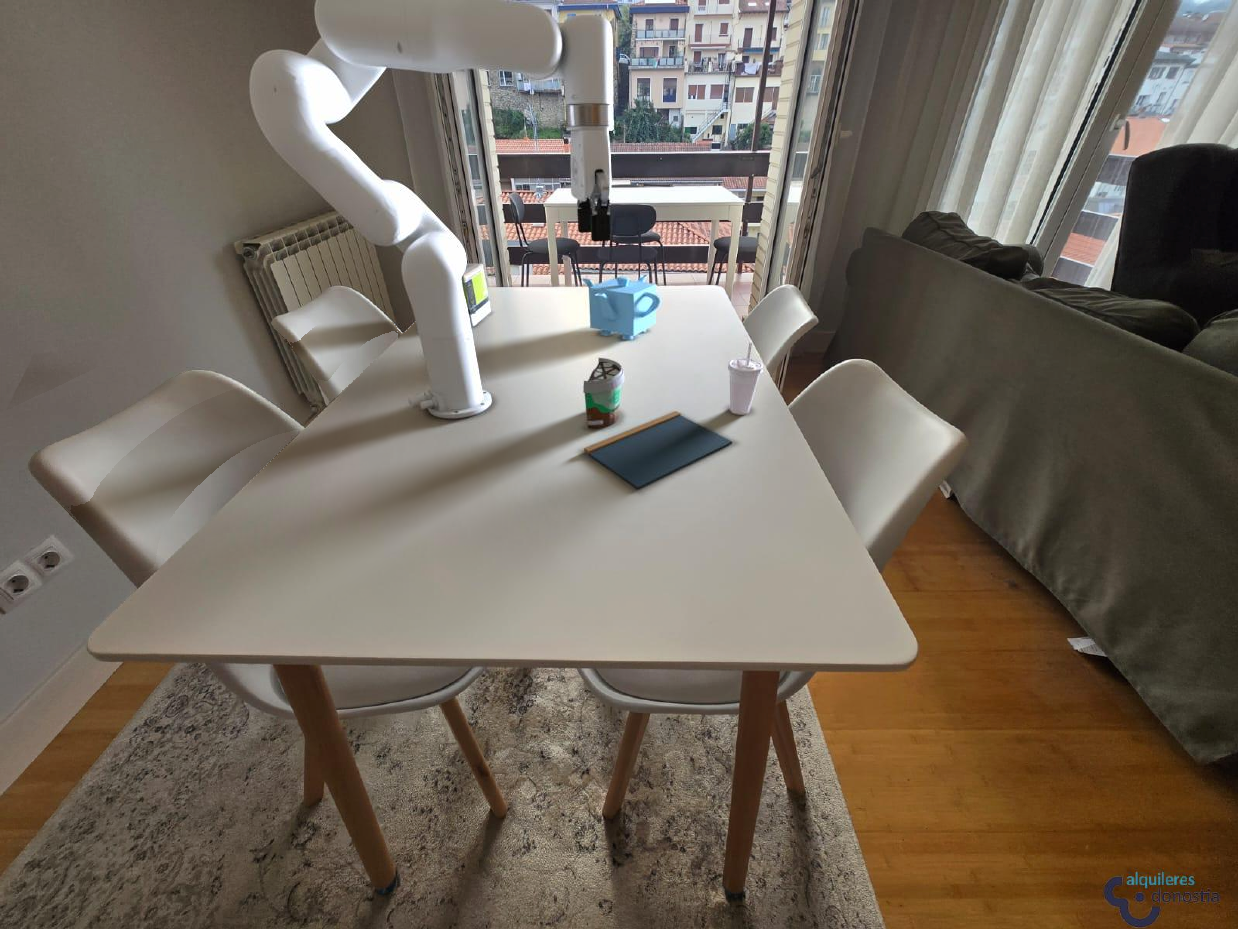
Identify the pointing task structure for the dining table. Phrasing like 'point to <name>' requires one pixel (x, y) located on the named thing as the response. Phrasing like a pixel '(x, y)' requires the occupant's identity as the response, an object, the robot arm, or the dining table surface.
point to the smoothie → (743, 382)
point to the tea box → (475, 292)
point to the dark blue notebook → (656, 449)
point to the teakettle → (622, 306)
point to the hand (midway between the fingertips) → (593, 236)
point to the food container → (603, 394)
